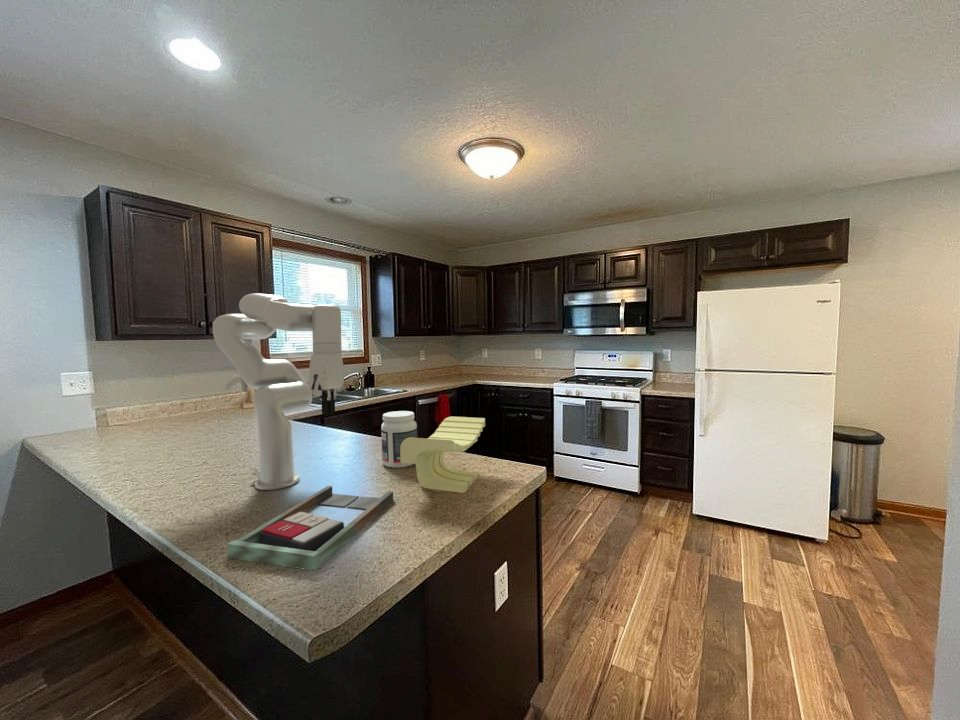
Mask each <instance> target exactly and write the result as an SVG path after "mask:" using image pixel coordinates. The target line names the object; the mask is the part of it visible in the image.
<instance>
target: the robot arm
mask: <svg viewBox="0 0 960 720" xmlns="http://www.w3.org/2000/svg"><path fill="white" fill-rule="evenodd" d="M238 306H239V307H238V308H239V310H240V312H241V313H227V314H223V315H220V316H217V317H216V318H215V319H214V320H213V323H212V334H213V340H214V341H215V344H216V346H218V348H219V350H220V351H221V352H222V353H223V354H224V355H225V356H226V357H227V358H228V360H230V362H231V363H232V365H233V366H234V368H235V370H236V371H237V372H238V374H239V375H240V377H241V379H242V380H243V381H244V384H246V385H247V387H248V388H250V389H252V390H255V391H254V393H253V396H252V404H253V408H254V411H255V416H256V423H257V435H258V436H257V437H258V454H259V455H258V456H259V459H258V460H259V467H256V468H255V469H254V470H253V471H252V472H251V476H253V477H257V480H256V481H255V482H254V488H255V489H257V490H260V491H262V490H263V491H274V490H280V489H284V488H288V487H291V486H293V485H295V484H296V483H298V482H299V481H300V475H299V474H298V473H296V472H295V467H294V445H293V440H294V439H293V427H292V423H291V421H290V420H289V419H288V418H287V417H286V415H285V413H290V412H296V411H301V410H304V409H306V408H308V407H310V405H311V404H312V401H313V395H314V396H317V397H319V400H320V401H321V413H322V415H333V414H335V413H336V399H337V394H338V392H340V391H342V387H343V385H344V382H345V375H344V374H345V372H344V362H343V360H344V359H343V355H342V353H343V352H342V351H343V350H342V311H341V308H340V307H339V306H337V305H333V304H316V305H314V304H301V303H289V301H288V300H287V299H286V298H285V297H283V296H281V295H276V294H267V293H257V292H256V293H248V294H246V295H244V296H243V297H242V298H241V299H240V301H239V303H238ZM277 330H281V331H287V332H312V354H311V357H310V360H309V367H308V368H309V369H308V383H307V381H306V380H305V378H304V377H303V376H302V374H301V372H299V370H298V369H297V367H296V366H295V365H294V363H292V362H291V361H289V360H287V359H284V358H283V359H282V358H278V359H277V358H276V359H267V358H265V357H264V356H263V355H262V354H261V352H260V350H259V349H258V348H257V347H256V346H254V345H253V344H251V343H250V342H248V341H246V340H265V339H268V338H270V337H271V336H272V335H273V334H274V333H276V331H277ZM312 391H313V392H312ZM312 393H313V394H312Z"/></svg>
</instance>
